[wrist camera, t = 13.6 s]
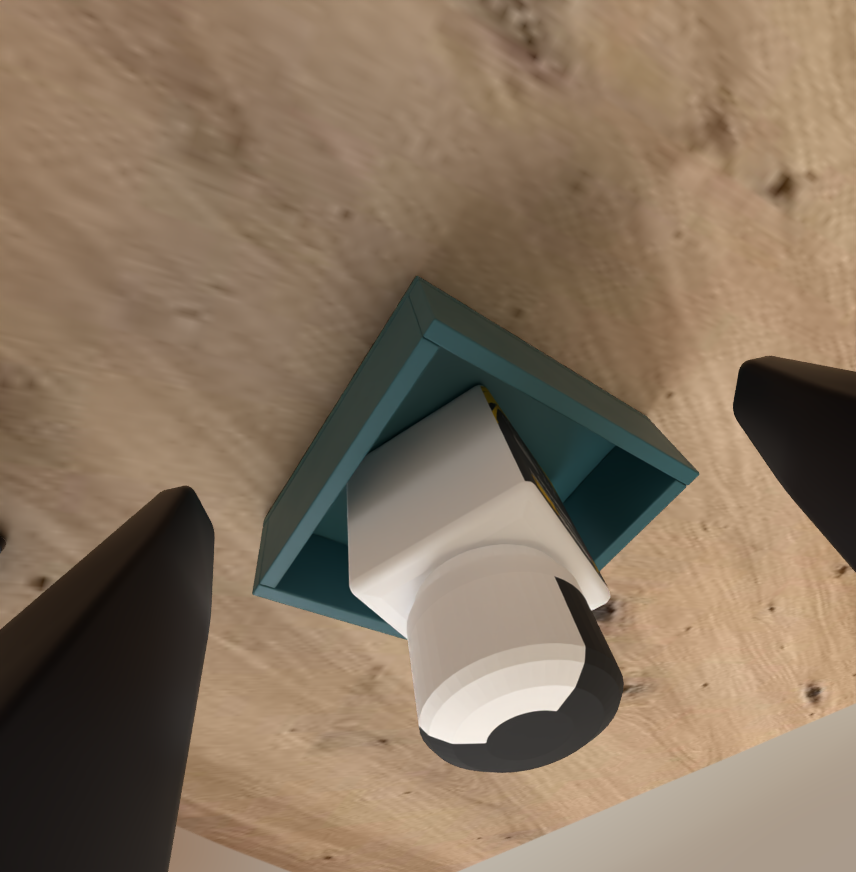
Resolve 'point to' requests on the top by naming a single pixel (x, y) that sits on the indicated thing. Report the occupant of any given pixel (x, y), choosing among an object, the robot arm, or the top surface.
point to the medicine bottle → (483, 590)
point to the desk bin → (426, 393)
